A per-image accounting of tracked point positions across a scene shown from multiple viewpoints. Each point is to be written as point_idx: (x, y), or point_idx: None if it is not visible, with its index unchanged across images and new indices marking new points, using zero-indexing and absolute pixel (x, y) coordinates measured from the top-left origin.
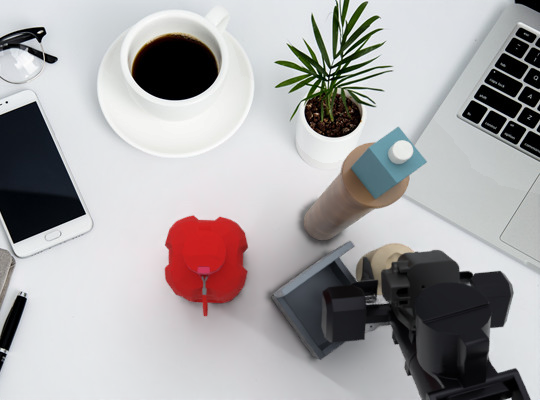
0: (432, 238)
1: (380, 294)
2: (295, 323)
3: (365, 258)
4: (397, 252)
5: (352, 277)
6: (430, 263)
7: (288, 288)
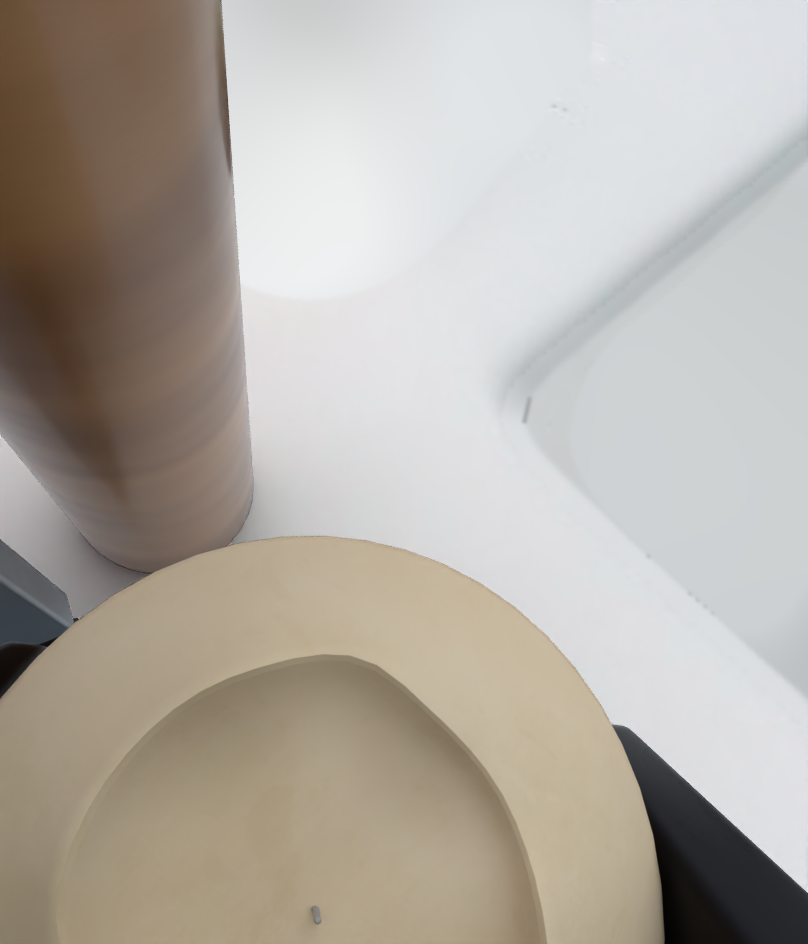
0: (646, 689)
1: None
2: None
3: (2, 663)
4: (365, 657)
5: None
6: None
7: None
